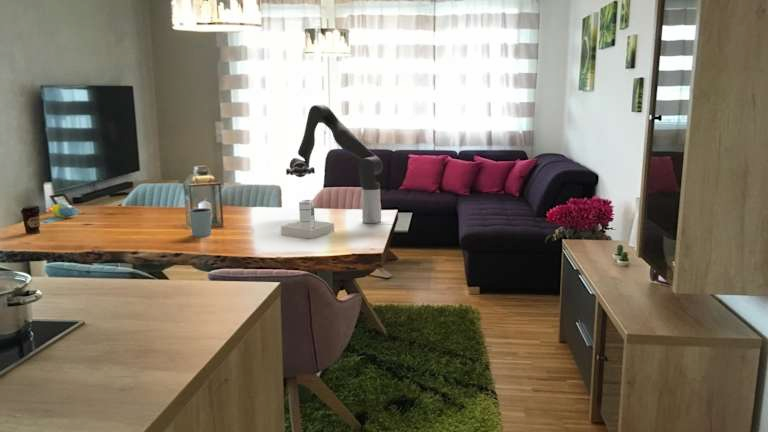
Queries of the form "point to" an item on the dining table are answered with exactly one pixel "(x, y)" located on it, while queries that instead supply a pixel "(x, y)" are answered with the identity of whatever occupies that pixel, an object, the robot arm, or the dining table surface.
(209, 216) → the grey tapered cup
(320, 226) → the tray
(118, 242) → the dining table surface
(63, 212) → the blue yellow toy
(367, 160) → the robot arm
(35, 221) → the coffee cup
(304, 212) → the syrup box
